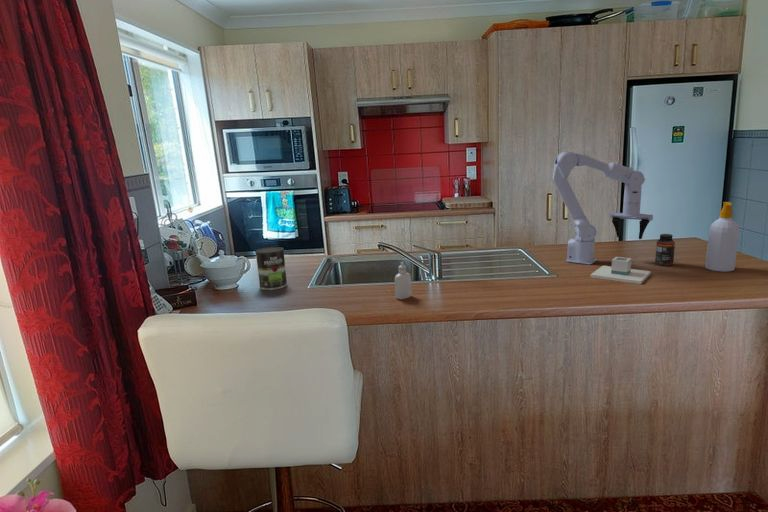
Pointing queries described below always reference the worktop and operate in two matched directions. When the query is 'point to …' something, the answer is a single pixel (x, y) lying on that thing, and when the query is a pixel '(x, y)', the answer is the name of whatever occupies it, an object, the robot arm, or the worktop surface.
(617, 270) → the sleeve
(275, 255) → the coffee can
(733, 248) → the soap bottle
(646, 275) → the pin board
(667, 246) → the supplement bottle
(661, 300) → the worktop surface
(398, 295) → the eye dropper bottle
